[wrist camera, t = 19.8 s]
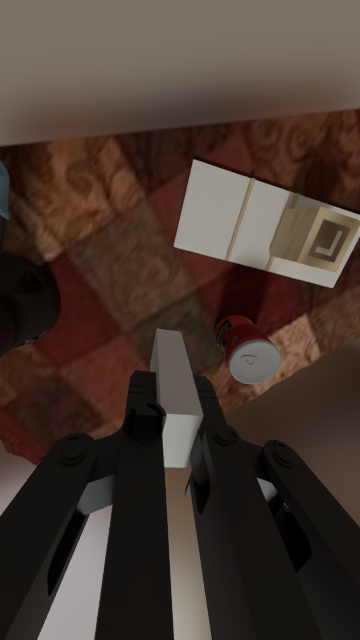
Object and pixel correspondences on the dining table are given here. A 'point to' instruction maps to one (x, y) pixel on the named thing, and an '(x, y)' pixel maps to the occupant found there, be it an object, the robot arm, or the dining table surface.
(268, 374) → the canned food
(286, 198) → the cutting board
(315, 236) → the tan cube
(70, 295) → the dining table surface
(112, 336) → the dining table surface
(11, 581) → the robot arm
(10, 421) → the dining table surface
